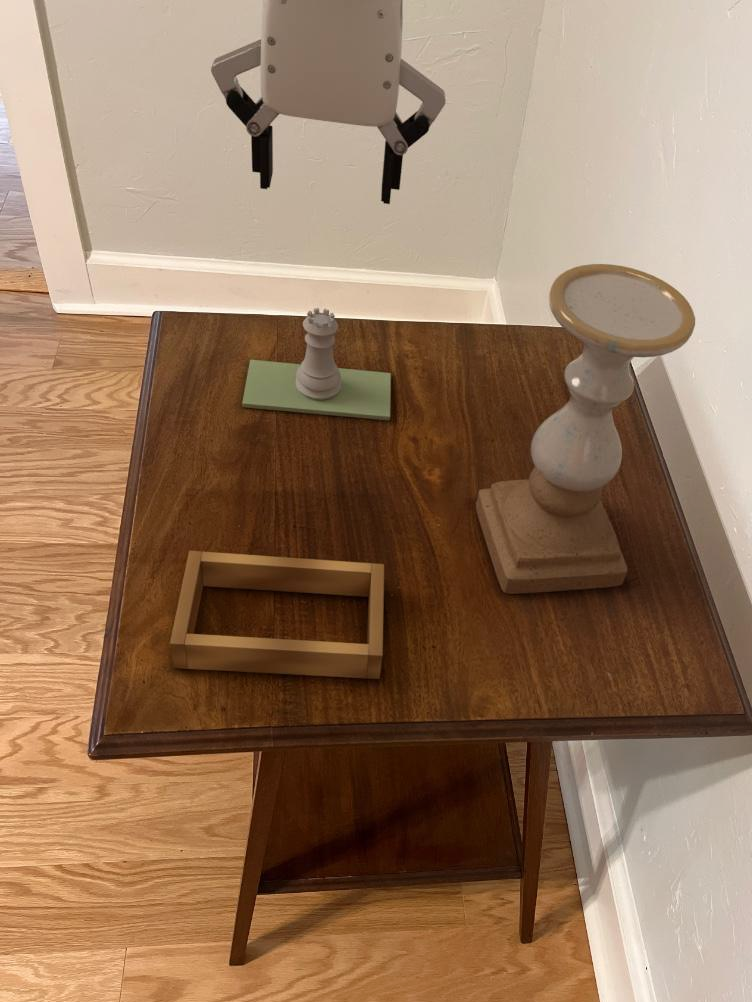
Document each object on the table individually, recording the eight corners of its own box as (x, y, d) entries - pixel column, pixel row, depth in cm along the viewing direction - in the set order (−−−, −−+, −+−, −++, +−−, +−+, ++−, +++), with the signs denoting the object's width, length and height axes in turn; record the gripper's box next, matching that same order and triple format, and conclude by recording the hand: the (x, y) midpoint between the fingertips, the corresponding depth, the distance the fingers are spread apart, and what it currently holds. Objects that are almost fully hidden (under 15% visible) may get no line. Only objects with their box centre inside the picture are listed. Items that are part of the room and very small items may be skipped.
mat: (242, 407, 86) (242, 403, 86) (250, 363, 90) (250, 359, 90) (389, 420, 88) (390, 416, 87) (390, 376, 92) (391, 372, 92)
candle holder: (624, 586, 78) (727, 349, 60) (502, 595, 75) (571, 350, 57) (586, 497, 85) (668, 260, 67) (473, 502, 82) (526, 257, 64)
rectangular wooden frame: (173, 668, 66) (169, 643, 64) (191, 576, 72) (189, 550, 70) (379, 679, 68) (382, 655, 66) (381, 588, 74) (384, 563, 72)
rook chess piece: (292, 374, 89) (292, 302, 83) (337, 373, 91) (341, 301, 85) (298, 403, 87) (299, 330, 81) (344, 401, 88) (349, 329, 82)
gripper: (461, -59, 64) (431, 180, 77) (211, -98, 62) (223, 154, 75) (465, -25, 60) (433, 224, 73) (195, -66, 57) (211, 198, 70)
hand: (326, 188), depth 74 cm, fingers open, 9 cm apart
